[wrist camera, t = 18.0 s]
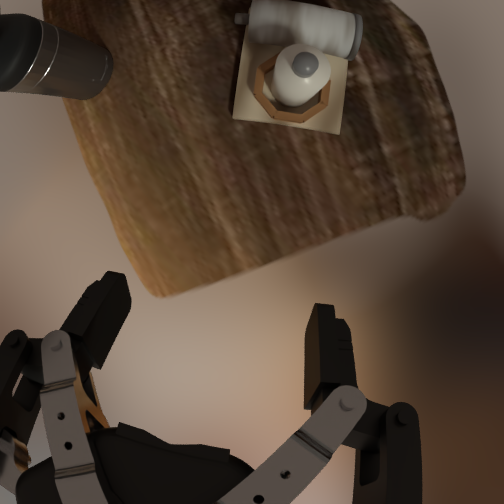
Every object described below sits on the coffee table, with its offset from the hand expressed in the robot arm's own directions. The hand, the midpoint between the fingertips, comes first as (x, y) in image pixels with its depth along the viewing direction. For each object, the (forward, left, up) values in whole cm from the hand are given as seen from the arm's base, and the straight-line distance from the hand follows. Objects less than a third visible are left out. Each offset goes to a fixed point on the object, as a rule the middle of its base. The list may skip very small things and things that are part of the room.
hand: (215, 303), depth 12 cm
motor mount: (+3, +18, -30) cm, 35 cm away
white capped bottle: (+3, +15, -28) cm, 32 cm away
